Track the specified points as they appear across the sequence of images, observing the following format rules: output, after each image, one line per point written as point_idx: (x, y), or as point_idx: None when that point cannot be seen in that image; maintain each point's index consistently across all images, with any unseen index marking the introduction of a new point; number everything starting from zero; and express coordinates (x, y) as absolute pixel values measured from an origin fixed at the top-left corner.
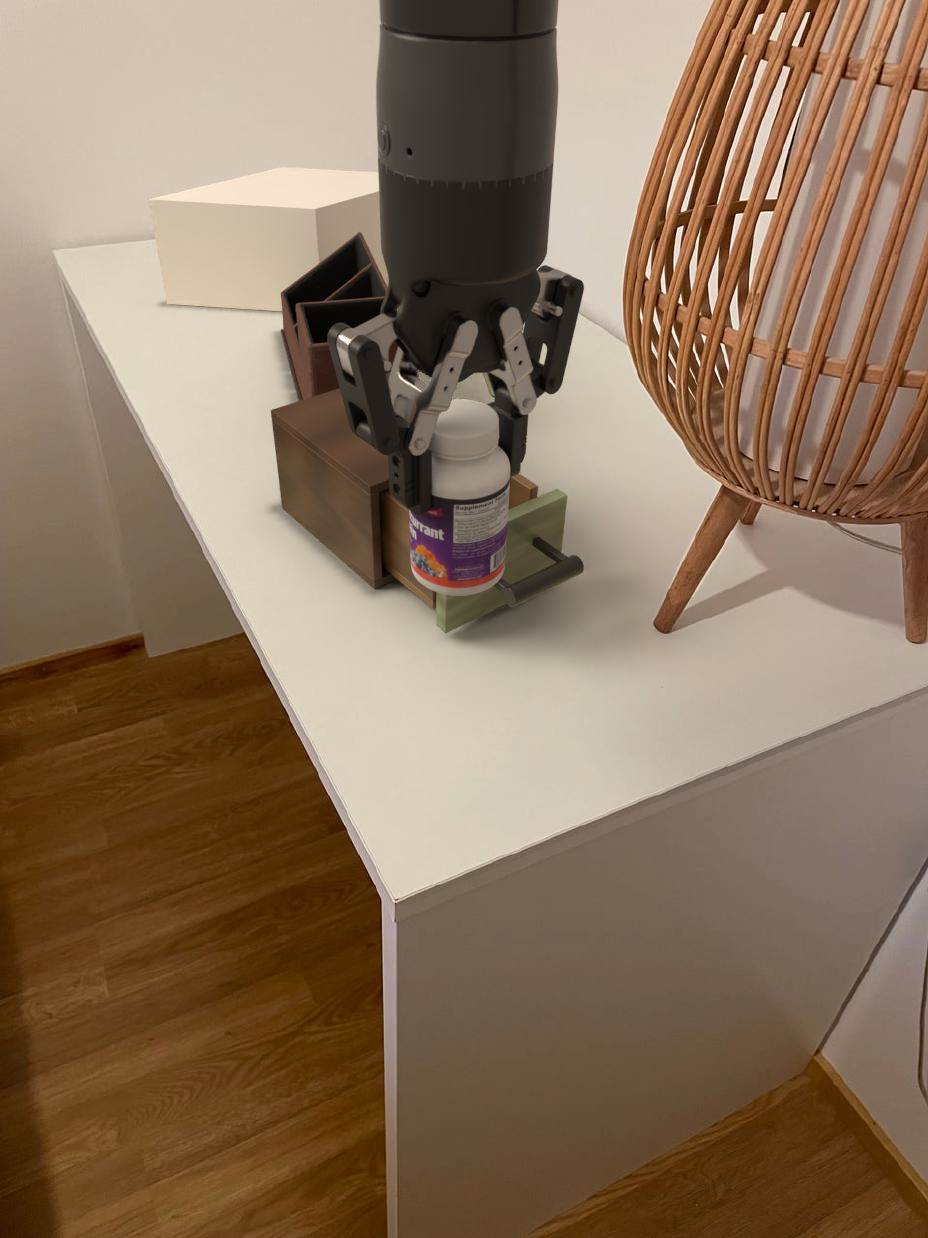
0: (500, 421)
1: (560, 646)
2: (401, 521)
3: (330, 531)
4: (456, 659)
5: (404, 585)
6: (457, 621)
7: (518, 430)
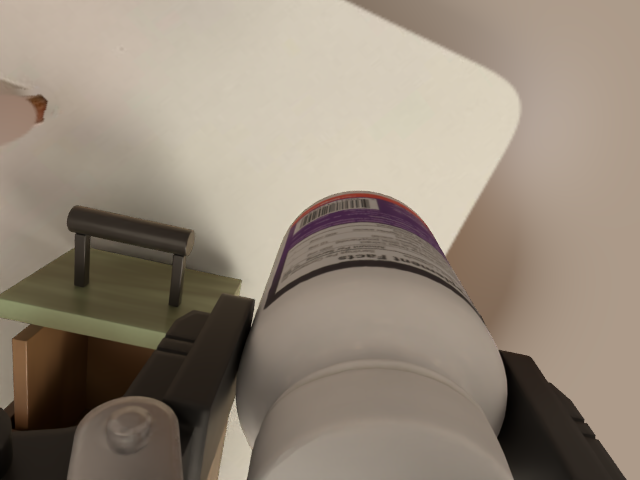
0: (210, 436)
1: (158, 180)
2: None
3: (218, 457)
4: (254, 251)
5: None
6: (224, 280)
7: (198, 372)
